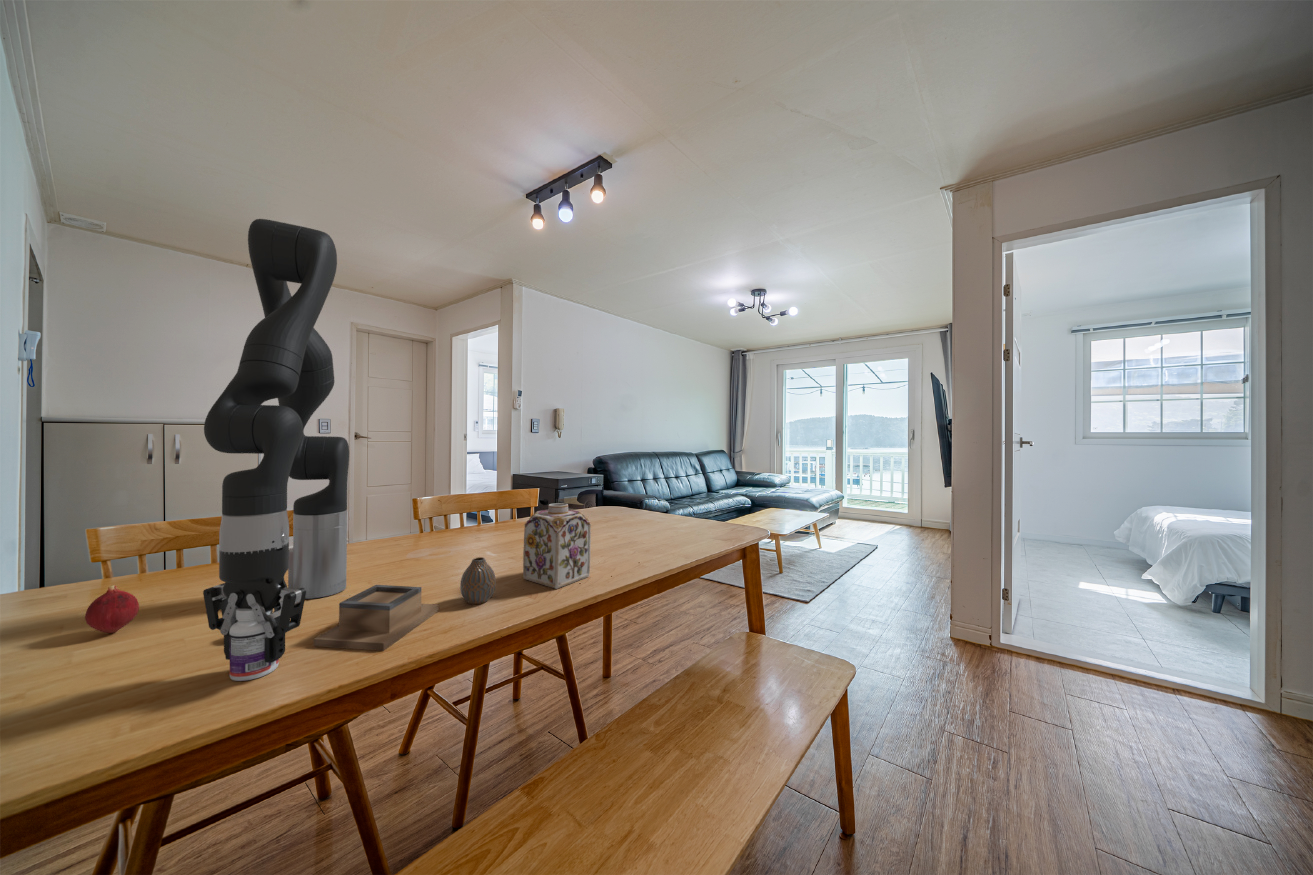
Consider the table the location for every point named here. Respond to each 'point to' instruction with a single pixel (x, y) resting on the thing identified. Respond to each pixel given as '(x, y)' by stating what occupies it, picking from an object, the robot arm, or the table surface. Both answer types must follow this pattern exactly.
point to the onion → (112, 610)
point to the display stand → (377, 618)
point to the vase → (478, 582)
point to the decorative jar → (556, 546)
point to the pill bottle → (248, 647)
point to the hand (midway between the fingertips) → (254, 658)
